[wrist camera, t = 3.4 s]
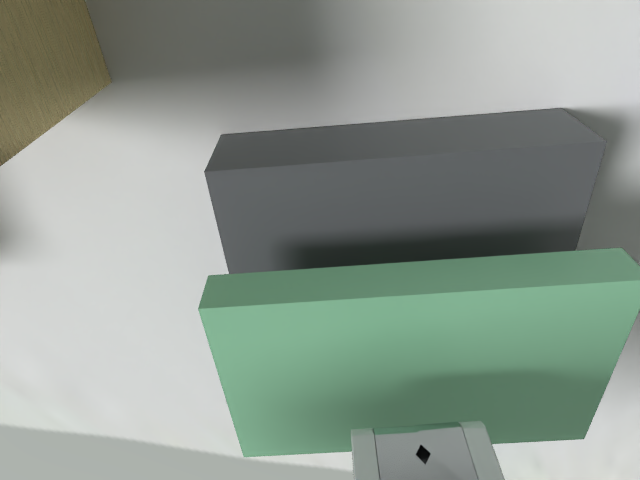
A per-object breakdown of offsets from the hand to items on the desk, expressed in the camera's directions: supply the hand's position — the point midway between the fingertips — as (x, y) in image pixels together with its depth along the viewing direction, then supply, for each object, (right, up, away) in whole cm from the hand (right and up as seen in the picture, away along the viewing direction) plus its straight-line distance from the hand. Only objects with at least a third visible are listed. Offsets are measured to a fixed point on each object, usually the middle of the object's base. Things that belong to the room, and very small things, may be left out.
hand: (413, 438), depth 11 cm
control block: (0, +4, +6) cm, 7 cm away
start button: (0, +3, +4) cm, 5 cm away
